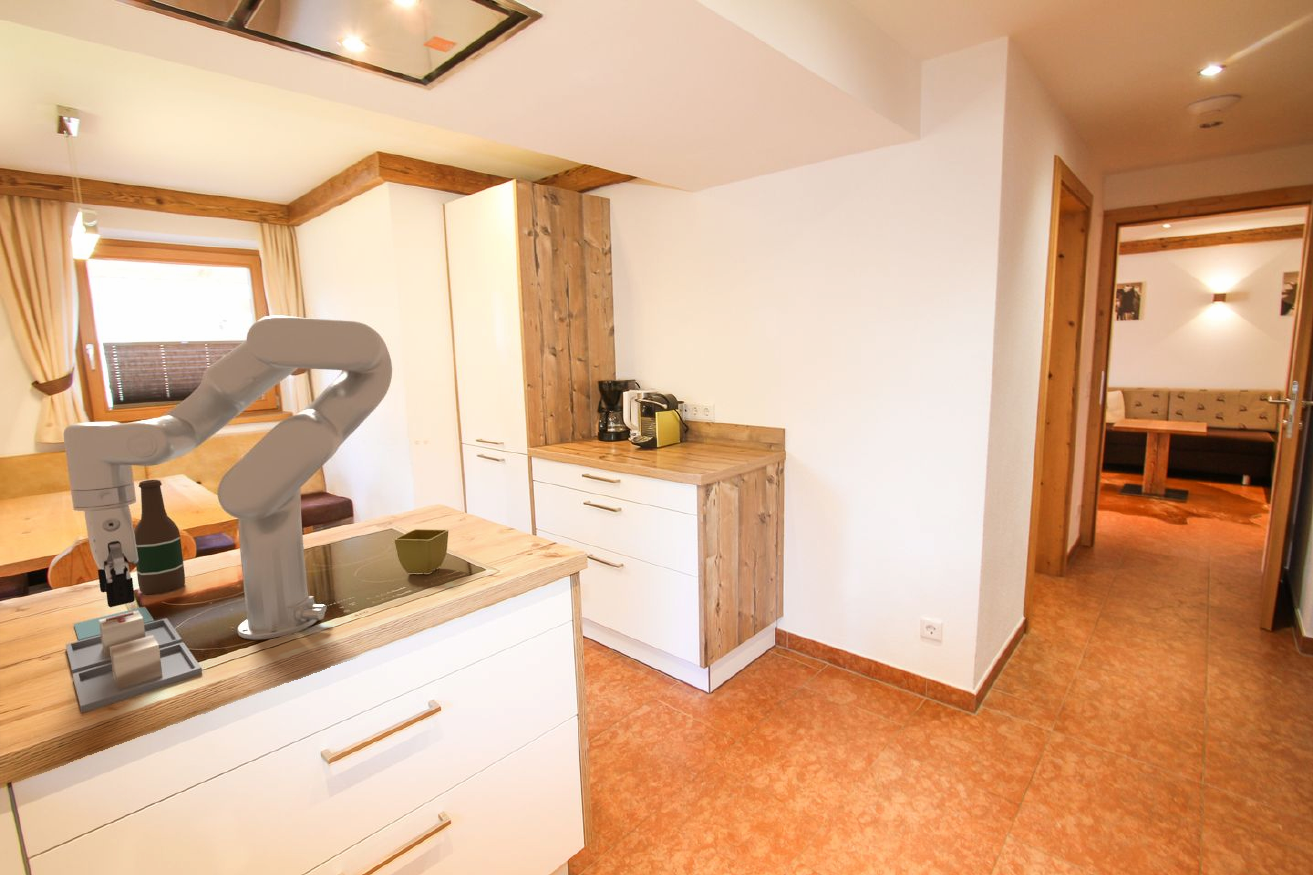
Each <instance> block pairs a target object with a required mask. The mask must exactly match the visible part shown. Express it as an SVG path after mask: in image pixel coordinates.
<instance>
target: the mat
mask: <svg viewBox="0 0 1313 875" xmlns="http://www.w3.org/2000/svg"><path fill="white" fill-rule="evenodd" d="M134 611H139V612H140V614H141V616H142V617H143V622H144V624H146V623H149V622H153V621H155V619H154V618H153V616H152V615H151V613H150V612H149V610H148V608H146V606H141V607H137V608H133V609H130V610H125V611H121V612H116V613H113V614H109V615H104V616H100V617H96V618H92V619H87V620H83V621H79V622H76V623H73V628H74V630H75V633H76V634H75V635H76V637H77V641H80V640H84V639H87V638H91V637H95V636H99V635H101V632H100V625H99V620H101V619H105V618H109V617H113V616H117V615H121V614H125V613H130V612H134Z"/></svg>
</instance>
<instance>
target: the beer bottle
mask: <svg viewBox="0 0 1313 875" xmlns="http://www.w3.org/2000/svg"><path fill="white" fill-rule="evenodd" d="M162 485H163V484H162V482H161V480H159V479H146V480H142V481H140V482H139V484H138V487H139V488H140V498H141V500H140V502H141V514H140V515H141V516H140V517H141V518H140V520H139V521H138V523H137V524H136V526H135V528H134V535H135V541H136V548H137V553H138V559H139V561H138V562H137V563H135V567H136V576H137V582H138V589H139V592H140V593H141V592H142V593H141V594H143V595H145V596H150V595H152V596H153V595H161V594H165V593H169V592H173V591H177V590H179V589H180V588H182V587H183V586H185V585H186V576H185V566H184V565H185V564H184V558H183V556H184V555H183V549H182V548H183V547H182V542H181V535H180V530H179V528H178V526H177V524H176V523H175V521H173V519H171V517H169V516H168V513H167V511H166V508H165V503H164V498H163V493H162V489H161V486H162Z"/></svg>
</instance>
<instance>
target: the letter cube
mask: <svg viewBox="0 0 1313 875" xmlns="http://www.w3.org/2000/svg"><path fill="white" fill-rule="evenodd" d="M99 625H100V632H101V639H102V647H103V650H104V653H105V655H106V657H110V656H111V654H110V647H111V646H115V645H119V644H122V643H126V642H130V641H133V640H137V639H141V638H144V637H145V630H144V622H143V617H142V616H141V614H140V612H139V611H134V612H130V613H125V614H121V615H117V616H113V617H109V618H105V619H101V620H99Z"/></svg>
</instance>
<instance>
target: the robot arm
mask: <svg viewBox="0 0 1313 875" xmlns="http://www.w3.org/2000/svg"><path fill="white" fill-rule="evenodd" d="M246 334H247V335H246V338H245V340H244V341H242V342H241V343H240V344H238V345H237V346H236V347H234V348H233V349H231V350H230V351H229V352H228V353H226V354H225V355H223V356H222V357H220V358H219V359H218V360H217V361H215V362H213V363H211V365H210V366H208V367H207V369H205V371H204V373H203V375H202V379H201V382H200V384H199V385H198V387H197V388H196V389H195V390H193V392H192V393H190V395H189V396H187V397H186V398H185V399H183V401H181V402H180V403H178V404H177V405H176V406H174V407H173V408H171V409H170V410H168V411H167V412H166V413H165V414H163V415H161V416H160V417H154V418H148V419H143V420H138V421H132V422H126V423H122V422H118V421H89V422H88V421H87V422H78V423H73V424H70V425H67V426H66V428H65V429H64V431H63V442H64V450H65V457H66V463H67V464H66V465H67V473H68V480H69V486H70V494H71V500H72V501H71V502H72V507H73V508H72V509H73V510H74V511H77V512H84V518H85V525H86V532H87V538H88V543H89V547H90V551H91V555H92V557H93V560H94V563H95V565H96V566H97V568H98V569H97V574H98V580H99V581H98V582H99V588H100V589H99V591H100V592H101V593H106V594H105V595H106V600H107V606H108V608H113V607H118V606H122V605H126V604H127V605H128V604H132V603H134V602H135V601H136V597H135V596H136V595H135V591H134V589H135V588H134V580H133V578H132V577H131V572H130V571H131V570H130V567H129V563H132V564H133V565H136V563H137V562H138V561H139V559H138V553H137V548H136V541H135V535H134V530H135V528H134V523H133V517H132V513H131V508H130V505H133V504H135V503H137V495H136V489H135V488H136V487H135V483H134V473H133V466H141V467H147V466H149V467H151V466H157V465H162V464H166V463H168V462H171V461H172V460H175V459H179V458H181V457H184V456H186V455H187V454H189V453H191V452H192V451H194V450H195V449H197V448H198V447H199V446H201V445H202V444H204V443H205V442H206V441H207V440H209V438H210V439H211V437H213V436H214V435H216V433H218V432H219V431H221V430H222V429H223V428H224V427H226V426H227V425H228V424H229V423H231V421H233V420H234V419H235V418H236V417H237V416H239V415H240V414H242V413H243V412H244V411H245V410H246V409H247V408H248V407H250V406H251V405H253V404H254V403H255V402H256V401H257V400H259V399H260V398H261V397H262V396H264V395H265V394H267V392H269V391H270V390H272V389H273V388H274V387H276V386H277V385H278V384H279V383H281V382H282V381H283V380H285V379H286V378H287V377H289V376H290V375H292V373H294V372H295V371H297V370H298V369H307V370H308V369H310V370H330V371H331V370H333V371H335V370H336V371H341V372H340V373H339V375H338V376H337V377H336V378H335V380H333V381H332V383H330V384H329V385H328V386H327V387H326V388H325V389H324V390H323V391H322V393H320V395H318V397H316V398H315V399H314V400H313V401H311V403H309V405H308V406H306V407H305V408H304V409H303V410H301V411H300V412H298V413H296V414H294V415H291V416H289V417H287V418H285V419H283V420H282V421H280V422H278V423H277V424H276V425H275V426H274V427H272V429H270V430H269V432H267V433H266V434H265V435H264V436H263V437H262V438H261V439H259V441H258V442H257V443H256V444H255V445H253V447H251V449H250V450H249V451H247V452H246V453H245V454H244V455H243V456H242V457H241V458H240V459H239V460H238V461H236V463H235V464H234V465H233V466H232V467H231V468H229V470H227V472H226V473H224V474H223V476H222V477H221V479H220V481H219V483H218V487H217V499H218V502H219V505H220V506H221V508H222V509H223V510H224V512H226V513H227V514H228V515H230V516H231V517H233V518H235V519H238V521H237V525H238V526H237V527H238V540H239V541H238V542H239V553H240V561H241V571H242V572H241V573H242V579H243V580H242V581H243V590H244V591H243V592H244V599H245V600H244V601H245V608H246V618H247V619H245V620H243V621H242V622H241V623H240V624H239V625H238V626H237V634H238V636H239V637H240V638H242V639H247V640H255V641H256V640H269V639H275V638H278V637H283V636H287V635H293V634H295V633H299V632H300V631H303V630H305V629H307V628H309V627H311V626H312V625H314V624H315V623H316V622H317V621H321V620H323V619H324V618H325V615H326V613H325V612H326V611H327V609H328V608H327V605H326V604H316V603H315V599H314V598H315V596H313V595H309V591H308V582H307V570H306V569H307V568H306V561H305V550H304V537H303V536H304V535H303V526H302V525H303V523H302V487H303V486H304V485H305V484H306V483H307V482H308V481H309V480H310V479H311V478H312V477H313V476H314V475H315V474H316V473H317V472H318V471H320V469H321V468H322V467H323V466H324V465H325V464H326V463H327V462H328V461H329V460H331V458H332V457H333V456H334V455H335V453H337V451H338V449H340V447H341V445H342V444H343V443H344V442H345V441H346V440H347V439H348V438H349V437H351V435H352V434H353V433H354V432H355V431H356V430H357V429H358V427H360V426H361V425H362V424H363V423H364V421H366V419H367V418H368V417H369V416H370V415H371V414H372V413H373V412H375V410H376V408H377V407H378V406H379V405H380V404H381V402H382V401H383V400H384V398H385V397H386V395H387V393H388V391H389V389H390V385H391V383H392V377H393V364H392V359H391V355H390V352H389V350H388V347H387V344H386V342H385V341H384V339H383V338H382V336H381V334H380V333H378V332H377V331H376V330H375V329H374V328H372V327H371V326H369V325H367V324H365V323H363V322H360V321H354V320H341V319H340V320H339V319H326V318H325V319H324V318H323V319H322V318H309V317H299V316H287V315H278V314H277V315H269V316H263V317H262V318H259V319H257V320H256V321H255V322H254V323H253V324H252V325H251V326H250V327H249V329H248V332H247V333H246Z"/></svg>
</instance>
